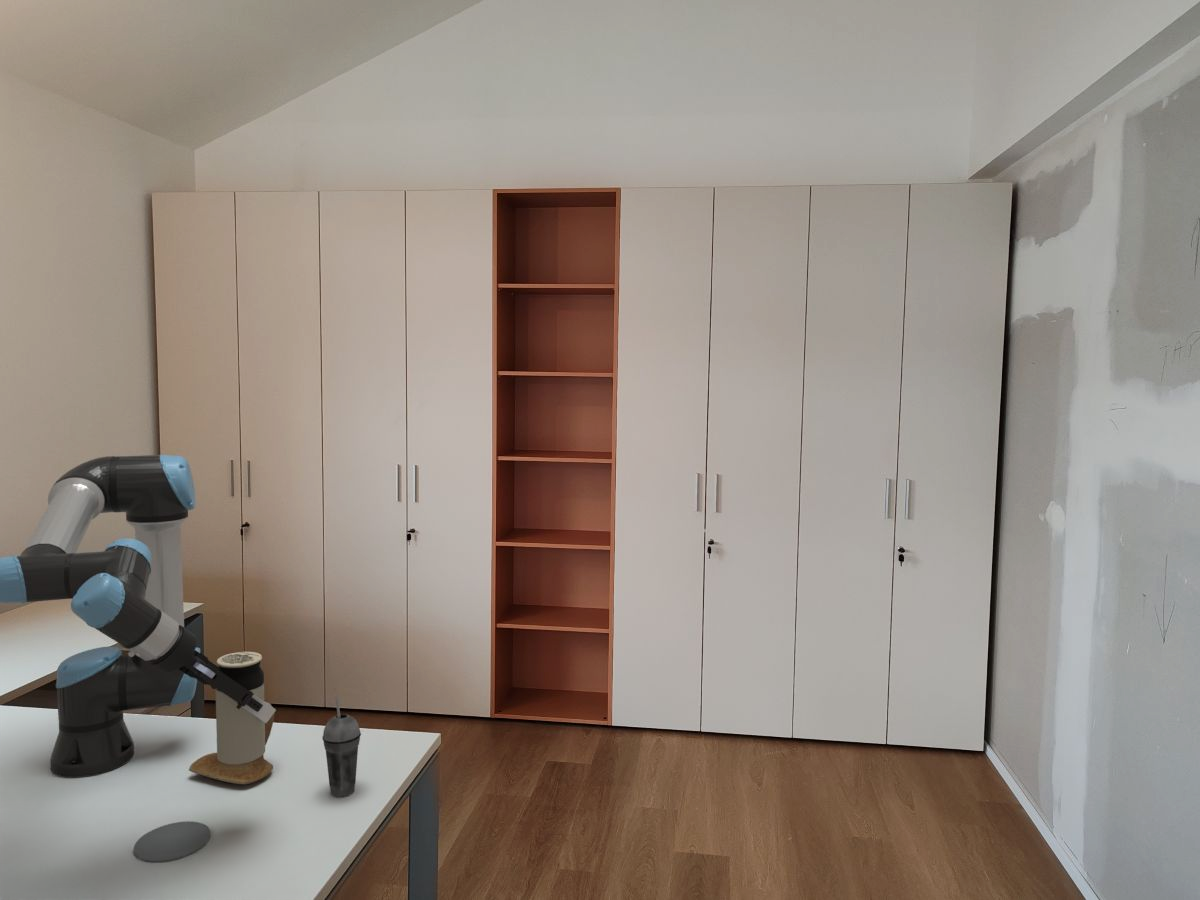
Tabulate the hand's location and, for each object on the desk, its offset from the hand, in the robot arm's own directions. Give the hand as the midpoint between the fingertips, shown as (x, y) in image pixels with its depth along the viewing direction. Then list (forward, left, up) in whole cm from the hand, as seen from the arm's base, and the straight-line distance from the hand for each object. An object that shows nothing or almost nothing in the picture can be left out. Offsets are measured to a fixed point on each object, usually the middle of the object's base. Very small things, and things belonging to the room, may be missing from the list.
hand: (258, 709), depth 152 cm
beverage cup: (+1, +16, -22) cm, 27 cm away
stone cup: (-21, +5, -22) cm, 31 cm away
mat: (-4, -14, -21) cm, 26 cm away
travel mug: (0, -3, -8) cm, 9 cm away
